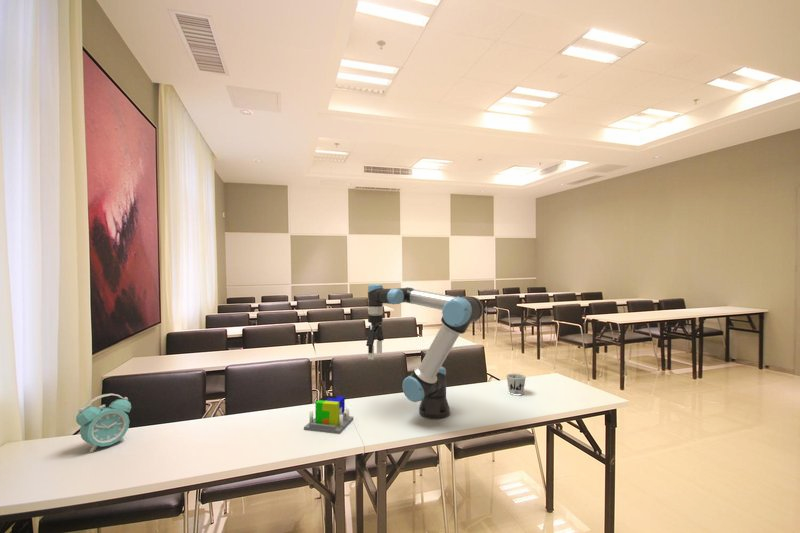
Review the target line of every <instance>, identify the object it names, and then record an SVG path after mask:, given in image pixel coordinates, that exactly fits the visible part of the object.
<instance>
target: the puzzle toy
mask: <svg viewBox="0 0 800 533" xmlns="http://www.w3.org/2000/svg"><path fill="white" fill-rule="evenodd" d="M345 400H346V399H345V396H341V395H339V396H338V395H327V394H326V395H323V396H322V397H320V398H319V399H318V400H317V401H316V402H315V412H314V413H315V414H314V415H315V417H314V418H315V423H317V424H326V425H335V426H336V427H337V426H338V425H339V415H341V414H342V415H343V419H344V418H345V413H346V407H345V405H346V403H345Z"/></svg>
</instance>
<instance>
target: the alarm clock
mask: <svg viewBox="0 0 800 533" xmlns="http://www.w3.org/2000/svg"><path fill="white" fill-rule="evenodd" d="M109 396H116V397H118V399H115V400H114V401H112V402H111V403H110V404H109V405H108V407H106V404H102V405H99V406H98V407H97V406H90V405H91V404H92V403H93V402H95V401H96V400H98V399H102V398H105V397H109ZM131 409H132V403H131V402H130V401H129V399H128V397H127V396H124V397H123V396H121V395H120V394H116V393H104V394H101V395H98V396H95V397H94V398H92V399H91V400H89V401H88V402H87V403H86V404H85V405H84V406H83V407H80V408H79V409H78V411H77V412H78V413H77V414H76V416H75V417H76V418H75V422H76V423H77V425H78V426H80V429H79V434H80V438H81V439H82V440H83V441H84V442H86V444H90V445H92V446H91V448H90V449H89V451H88V453H93V452H95V451H96V449H97V448H98V447H109V446H111V445H113V444H115V443H118V442H120V443H123V442H125V441H126V440H125V439H124V436H126V434H127V432H128V431H129V427H130V422H131V421H130V418H129V415H128V414H129V413H130V411H131ZM127 413H128V414H127Z"/></svg>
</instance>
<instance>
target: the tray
mask: <svg viewBox="0 0 800 533" xmlns="http://www.w3.org/2000/svg"><path fill="white" fill-rule="evenodd" d="M353 420H354V416H350V408H345V418H344V419H343V415H342V414H341V415H339V425H338V426H337V427H336V426H335V425H326V424H317V423H315V417H314V411H312V410H311V411H309V422H308V423H307V424H305V426H303V430H305V431H311V432H320V433H327V434H328V433H329V434H337V435H340V434H341V433H342V432H343V431H344V430H345V429H347V427H348V426H349V424H351V422H353Z"/></svg>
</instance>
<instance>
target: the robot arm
mask: <svg viewBox="0 0 800 533" xmlns="http://www.w3.org/2000/svg"><path fill="white" fill-rule="evenodd" d="M383 287H384V286H383V284H381V283H380V284H378V283H375V284H374V283H373V284H369V285H368V287H367V288H368V289H367V308H366V309H367V314H368V315H367V322H368V323H369V324H370V325H368V332H367V338H366V344H365V346H367V359H368V360H374V359H375V346H374V344H375V338H376V339H377V340H376V354H383V341H384V339H385V338H384V332H383V328H382V323H383V321H384V318H383V317H384V316H383V314H384V309H383V308H384V306H383V305H384V304H388V305H400V304H402V303H407V304H411V305H417V306H421V307H426V308H429V309H436V310H439V311H442V312H441V314H442V317H441V319H440V321H441V326H440V328H439V329H438V331H437V334H436V336H434V339H433V340H432V342H431V344H430V346H429V348H428V349H427V351H426V353H425V355H424V357H423V359H422V361H421V363H420V364H417V365H415V367H414V368H413V370H412V371H411V374H410V375H409V376H407V377H405V378H404V379H403V381H402V383H401V384H402V386H401V388H402V390H403V394H404V396H405V397H406V398H407V400H409V401H411V402H413V403H417V402H420V404H419V408H418V412H419V415H420V416H422V417H423V418H426V419H435V420H436V419H444V418H447V417H448V416H450V414H451V412H450V411H451V410H450V406H449V403H448V399H447V370H446V368H445V366H443V364H444V362H445V361H446V359H447V357H448V355H449V354H450V352H451V350H452V348H453V346H454V345H455V343H456V342H457V339H458V338H459V336H460V335H464V334H465V333H466V331H467V329H468V328H469V326H470V324H472V323H476V322H477V321H478V320H480V319H481V317H482V316H483V314H484V306H483V305H484V304H483V303H482V302H481V300H480V299H479V298H478V297H475V296H467V295H458V296H453V295H447V294H442V293H437V292H431V291H426V290H420V289H415V288H413V287H397V288H395V287H394V288H383Z"/></svg>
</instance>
